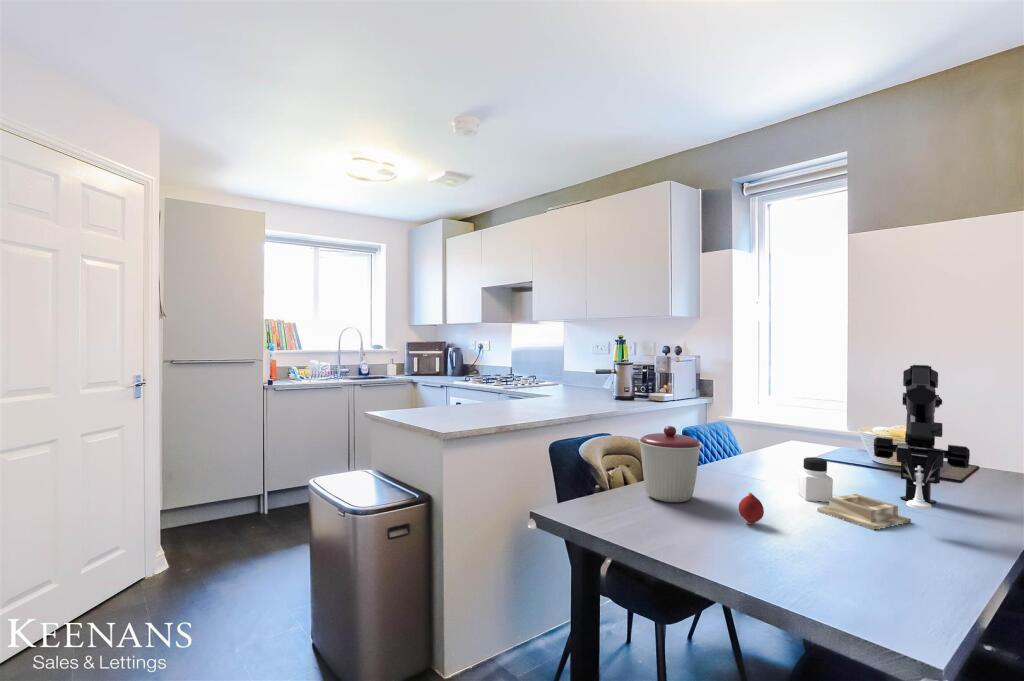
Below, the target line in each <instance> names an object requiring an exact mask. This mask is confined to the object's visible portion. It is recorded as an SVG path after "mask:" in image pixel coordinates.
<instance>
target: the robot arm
mask: <svg viewBox="0 0 1024 681" xmlns="http://www.w3.org/2000/svg"><path fill="white" fill-rule="evenodd" d="M902 373H903V374H902V375H903V376H902V377H903V378H902V381H903V382H902V386H903V387H905V392H902V406H905V409H906V426H905V433H904V434H905V436H904V437H905V438H904V442H897V443H896V444H894V438H889V437H881V436H877V437H875V438H874V439H873V452H874V453H873V454H874V457H876V458H881V459H889V460H890V459H891V458H893V457H894V453H895V454H896V462H898V463H900V480H905V495H903V496H900V497H899V498H901V499H900V500H904V499H905V501H907V500H914V499H913V498H915V493H916V486H917V485H916V484H914V482H916V478H915V476H914V473H916V472H918V470H915V468H918V466H921V468H923V470H921V473H923V474H924V477H923V480H922V483H924V484H925V485H921V486H922V494H923V500H925V501H924V502H927V503H929V504H931V505H932V504H936V503H937V500H934V499H931V494H932V484H934V485H938V484H940V482H941V469H942V468H944V459H946V460H947V461H946V462H947V464H948V465H949V466H950V467H951V468H952V467H953V468H958V469H968V468H969V465H970V456H971V453H970V449H969V448H968V447H967V446H963V445H954V444H947V450H946V449H942V448H935V443H936V441H935V440H936V438H942V437H943V423H942V422H935V412H936V409H939V408H940V406H943V399H942V398H941V397H940V395H939V394H936V393H937V392H936V389H938V387H939V372H937V371H936V370H935V369H932V366H931V365H927V364H913V365H910V367H909V368H907V369H905V370H903V372H902Z"/></svg>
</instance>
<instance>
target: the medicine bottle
mask: <svg viewBox="0 0 1024 681" xmlns="http://www.w3.org/2000/svg"><path fill="white" fill-rule="evenodd" d="M797 473H798V474H797V494H798V495H799V496H800V497H801V498H802V497H803V498H802V499H803V500H804V501H807V502H817V501H821V502H822V503H829V498H833V485H834V484H833V481H834V480H833V478H832V477H830V476H829V475H828V461H827V460H826V459H825V458H822V457H817V456H807V457H805V458H803V470H798V472H797Z"/></svg>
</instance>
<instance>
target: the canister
mask: <svg viewBox="0 0 1024 681" xmlns="http://www.w3.org/2000/svg"><path fill="white" fill-rule="evenodd" d="M638 443H639V444H640V454H641V455H640V457H641V465H642V476H643V484H644V489H645V492H646V493H647V495H648V496H649V497H650V498H651V499H654V500H657V501H659V502H660V501H661V502H666V503H684V502H687V501H689V500H690V499H691V498H692V497H693V495H694V492H695V487H696V481H697V472H698V466H699V459H700V452H701V448H702V447H703V443H702V442H700V441H698V439H696V438H694V437H692V436H688V435H683V434H679V433H678V434H677V429H676V428H675V427H674V426H672V425H667V426H665V427H664V428H663V432H662V433H661V432H659V433H649V434H645V435H644V436H642V437H640V438H638Z"/></svg>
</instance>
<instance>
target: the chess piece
mask: <svg viewBox="0 0 1024 681" xmlns="http://www.w3.org/2000/svg"><path fill="white" fill-rule="evenodd" d="M915 470H918V472H916V473H914V476H915V478H916V482H914V484H916V485H917V486H916V493H915V498H913V499H914V500H909V501H907V500H906V506H908V507H909V508H913V509H917V510H926V511H927V510H932V504H929V503H927V502H924V501H925V500H923V494H922V486H921V485H925V484H924V483H922V480H923V477H924V474H923V473H921V470H923V468H921V466H918V468H915Z"/></svg>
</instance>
